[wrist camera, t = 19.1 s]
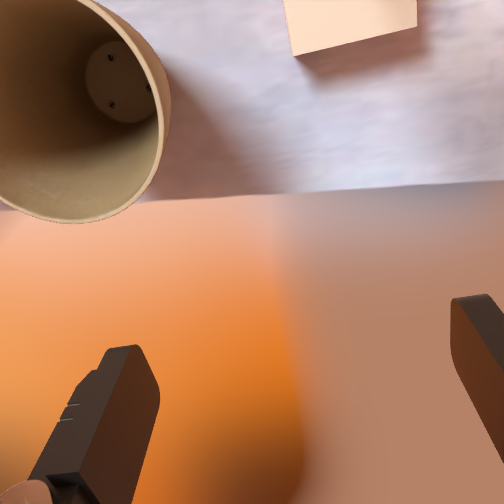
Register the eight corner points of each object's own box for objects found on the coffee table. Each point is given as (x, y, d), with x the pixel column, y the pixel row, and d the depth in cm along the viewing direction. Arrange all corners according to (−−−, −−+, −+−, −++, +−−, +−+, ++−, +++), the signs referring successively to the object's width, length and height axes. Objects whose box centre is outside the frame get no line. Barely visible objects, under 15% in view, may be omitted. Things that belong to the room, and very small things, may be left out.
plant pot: (185, -22, 36) (130, -43, 22) (212, 150, 43) (184, 215, 29) (20, 1, 37) (-129, -6, 23) (74, 164, 44) (-16, 232, 31)
